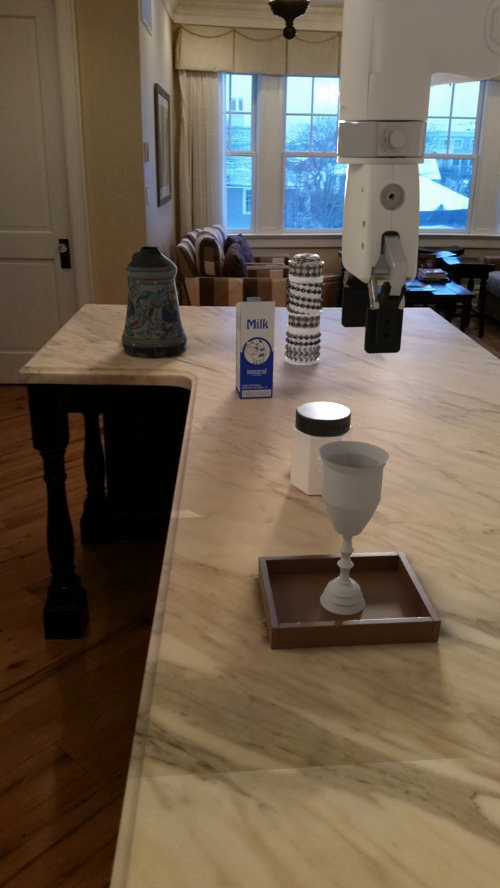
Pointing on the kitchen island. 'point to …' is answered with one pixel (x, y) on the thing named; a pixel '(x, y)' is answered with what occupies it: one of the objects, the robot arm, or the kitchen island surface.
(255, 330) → the milk carton
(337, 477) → the chalice
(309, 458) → the jar
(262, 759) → the kitchen island surface
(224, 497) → the kitchen island surface
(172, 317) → the beer stein
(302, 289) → the decorative candle
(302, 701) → the kitchen island surface
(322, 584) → the tray
